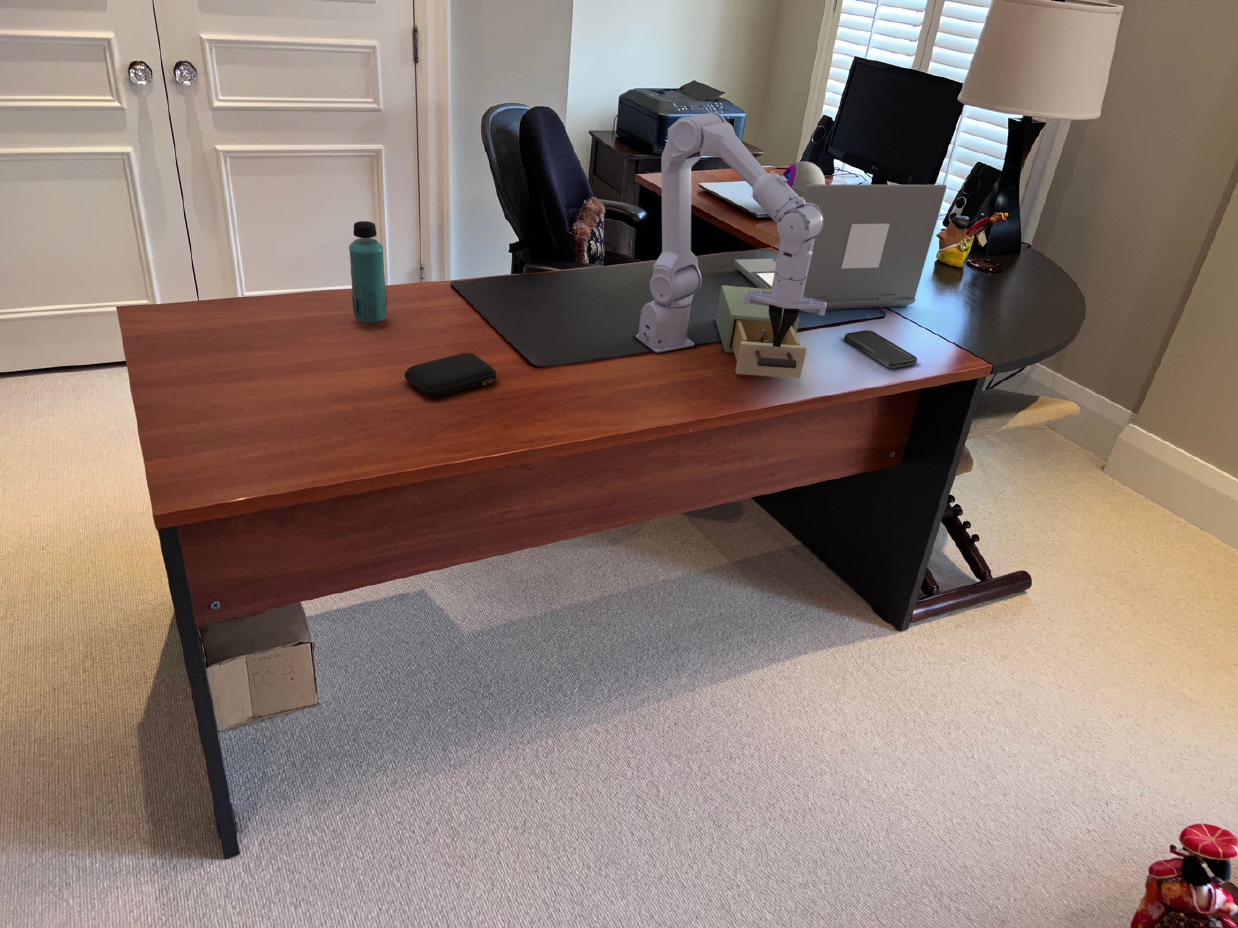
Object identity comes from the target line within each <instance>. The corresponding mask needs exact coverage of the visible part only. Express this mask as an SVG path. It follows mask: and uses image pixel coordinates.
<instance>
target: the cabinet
mask: <svg viewBox="0 0 1238 928" xmlns="http://www.w3.org/2000/svg"><path fill="white" fill-rule="evenodd" d="M746 290H748V291H771V289H761V288H758V287H746V286H735V285H724V284H723V285H721V287H720V291H719V292H720V293H719V297H718V298H719V299H718V304H717V310H716V316H715V322H716V323H715V324H716V326H717V330H718V333H719V337H720V340H721V344H722V347H723V351H724V353H731V354H734V351H733V348H732V345H731V336H732V331H733V325H734V319H743V320H756V321H769V322H771V320H770V317H769V306H764V305H757V304H749V305H748V304H744V299H745V293H746ZM783 311H784V308H783ZM782 317H783V312H782ZM781 322H782V319H781ZM799 322H800V319H799V317H798V318H797V320H796V321H795V322H794V324H793V325H792V327H793V329H794V331H795V334H796V335H797V333H798V327H799Z"/></svg>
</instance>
